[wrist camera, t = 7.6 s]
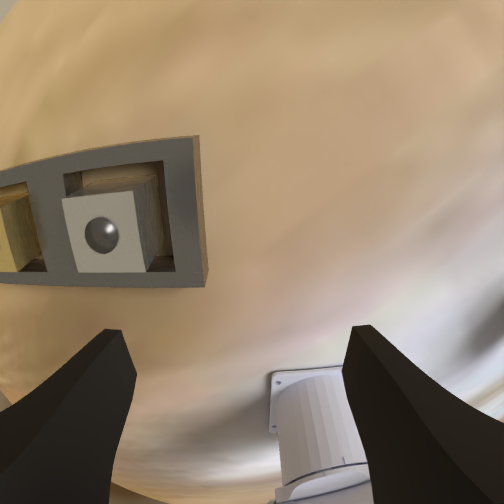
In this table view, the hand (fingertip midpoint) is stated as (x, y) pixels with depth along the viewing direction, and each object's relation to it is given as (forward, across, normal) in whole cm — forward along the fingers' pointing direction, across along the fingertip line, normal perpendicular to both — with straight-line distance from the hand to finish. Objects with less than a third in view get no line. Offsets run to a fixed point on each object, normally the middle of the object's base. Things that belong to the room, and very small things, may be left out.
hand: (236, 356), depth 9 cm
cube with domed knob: (+10, +6, -2) cm, 12 cm away
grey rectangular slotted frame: (+9, +11, -2) cm, 15 cm away
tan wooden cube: (+10, +16, -2) cm, 18 cm away
